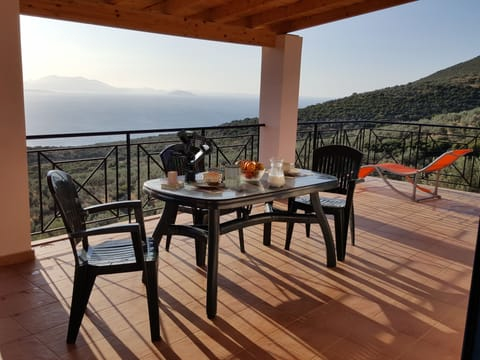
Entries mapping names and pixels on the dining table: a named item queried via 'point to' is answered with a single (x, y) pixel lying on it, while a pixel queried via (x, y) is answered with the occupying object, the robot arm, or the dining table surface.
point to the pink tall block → (172, 177)
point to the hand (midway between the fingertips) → (177, 165)
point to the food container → (218, 171)
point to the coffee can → (232, 175)
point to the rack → (172, 185)
